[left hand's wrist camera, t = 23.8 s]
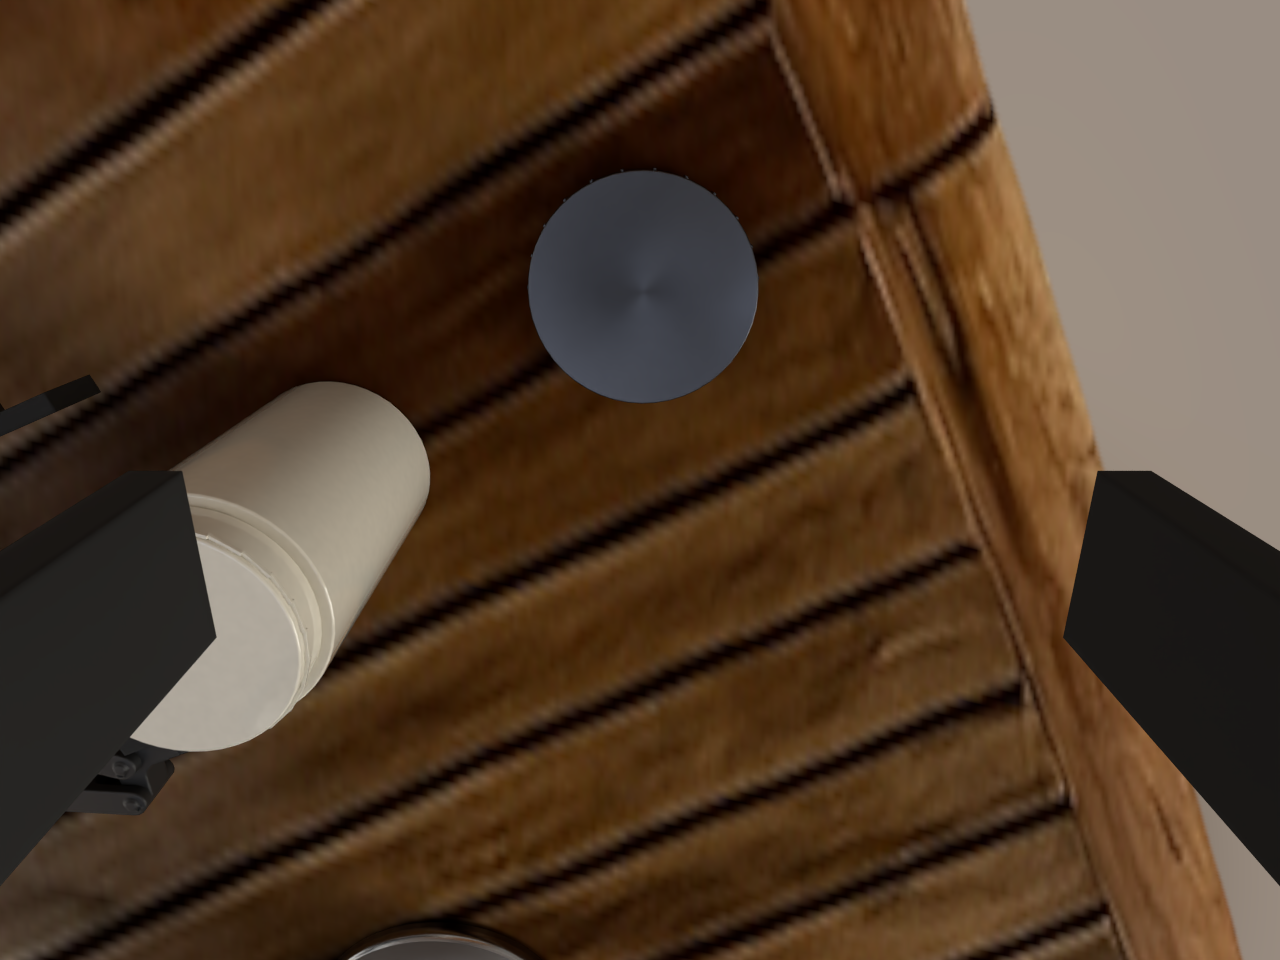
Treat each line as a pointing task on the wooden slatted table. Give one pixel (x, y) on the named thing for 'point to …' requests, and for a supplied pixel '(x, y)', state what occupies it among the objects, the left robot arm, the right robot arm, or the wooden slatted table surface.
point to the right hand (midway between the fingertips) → (177, 545)
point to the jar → (288, 552)
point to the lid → (643, 286)
